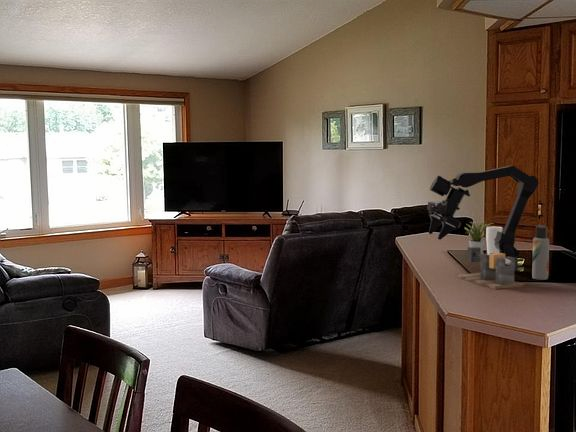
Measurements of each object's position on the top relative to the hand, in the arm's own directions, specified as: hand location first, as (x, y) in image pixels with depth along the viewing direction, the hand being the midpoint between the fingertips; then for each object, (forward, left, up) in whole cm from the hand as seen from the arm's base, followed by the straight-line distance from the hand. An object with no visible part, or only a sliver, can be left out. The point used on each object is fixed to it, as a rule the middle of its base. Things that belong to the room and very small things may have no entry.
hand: (434, 236), depth 260 cm
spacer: (-8, +30, -8) cm, 32 cm away
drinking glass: (-36, -9, -14) cm, 39 cm away
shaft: (-8, +26, -8) cm, 28 cm away
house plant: (-43, -29, -14) cm, 53 cm away
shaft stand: (-8, +26, -14) cm, 30 cm away
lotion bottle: (-29, +28, -14) cm, 42 cm away
